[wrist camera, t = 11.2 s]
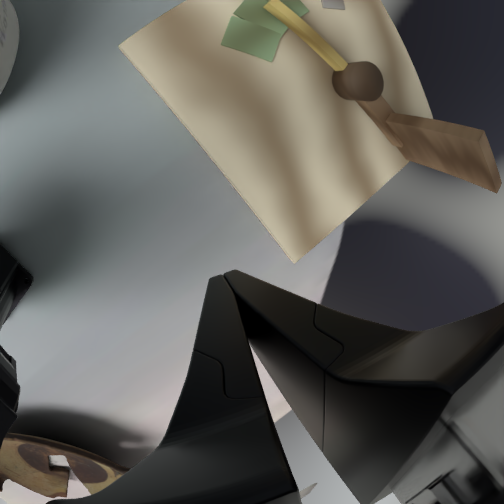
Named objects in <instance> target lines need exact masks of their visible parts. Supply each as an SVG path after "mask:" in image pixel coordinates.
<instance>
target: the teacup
mask: <svg viewBox="0 0 504 504" xmlns="http://www.w3.org/2000/svg"><path fill="white" fill-rule="evenodd" d="M18 43H19V22H18V17H17V14H16V11H15V9H14V7H13V5H12V3H11V2H10V1H9V0H0V94H1V93H2V91H3V89H4V87H5V85H6V83H7V81H8V78H9V76H10V74H11V71H12V68H13V65H14V62H15V58H16V54H17V50H18Z"/></svg>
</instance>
